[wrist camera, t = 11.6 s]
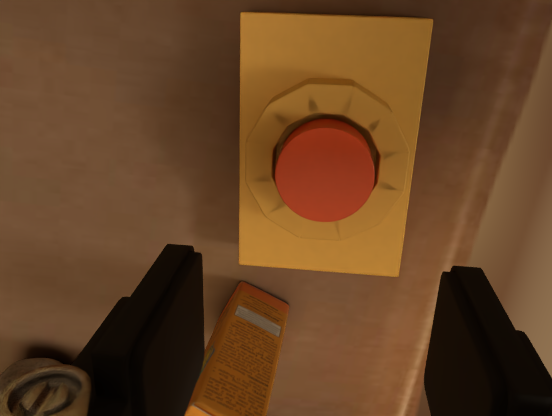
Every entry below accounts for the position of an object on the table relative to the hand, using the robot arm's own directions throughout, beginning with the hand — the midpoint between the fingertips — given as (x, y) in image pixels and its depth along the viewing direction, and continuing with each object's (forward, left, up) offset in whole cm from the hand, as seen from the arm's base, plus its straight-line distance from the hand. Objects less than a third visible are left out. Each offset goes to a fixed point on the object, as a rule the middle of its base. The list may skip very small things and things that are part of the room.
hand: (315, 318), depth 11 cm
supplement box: (+4, +10, -16) cm, 19 cm away
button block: (0, 0, -15) cm, 15 cm away
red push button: (0, 0, -12) cm, 12 cm away
